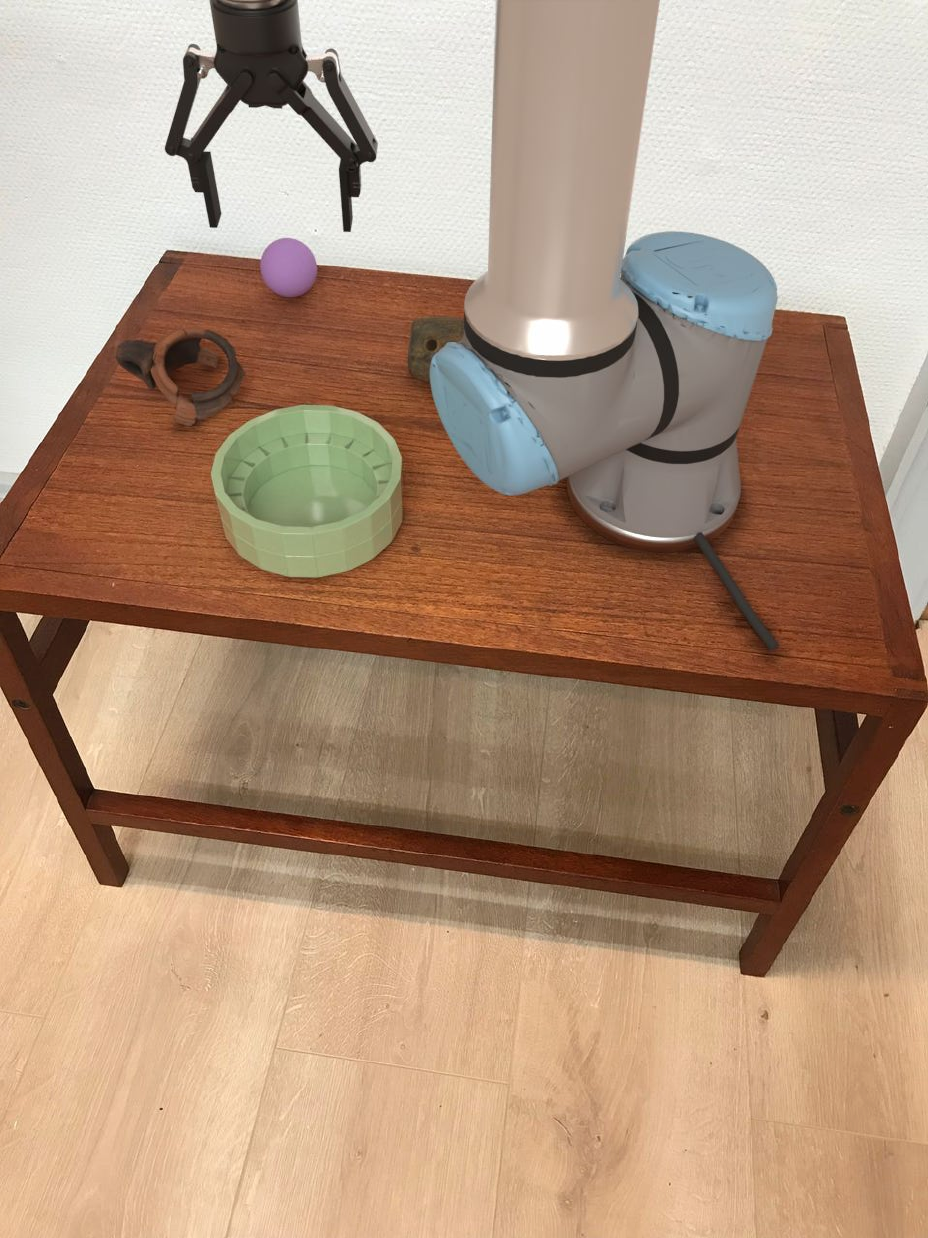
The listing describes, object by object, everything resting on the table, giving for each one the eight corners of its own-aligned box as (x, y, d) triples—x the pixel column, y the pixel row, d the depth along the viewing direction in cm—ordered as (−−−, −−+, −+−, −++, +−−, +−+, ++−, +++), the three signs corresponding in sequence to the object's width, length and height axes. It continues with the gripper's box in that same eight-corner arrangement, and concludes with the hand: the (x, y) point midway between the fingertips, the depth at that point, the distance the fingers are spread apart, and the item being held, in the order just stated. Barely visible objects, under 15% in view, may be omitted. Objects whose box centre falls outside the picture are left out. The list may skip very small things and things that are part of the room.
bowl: (398, 586, 81) (396, 535, 76) (209, 581, 81) (195, 531, 76) (407, 458, 91) (405, 406, 86) (238, 454, 90) (228, 402, 86)
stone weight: (406, 402, 96) (404, 344, 90) (412, 358, 100) (411, 300, 95) (559, 410, 95) (567, 352, 90) (559, 365, 100) (565, 308, 94)
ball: (316, 309, 105) (311, 258, 100) (260, 307, 105) (252, 256, 100) (322, 277, 109) (317, 227, 104) (268, 276, 109) (260, 225, 104)
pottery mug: (248, 363, 100) (252, 326, 92) (234, 450, 98) (237, 419, 90) (125, 338, 97) (119, 296, 89) (108, 426, 95) (100, 392, 87)
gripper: (400, -21, 86) (404, 207, 103) (116, -31, 86) (167, 199, 103) (395, 14, 82) (401, 246, 99) (96, 3, 81) (152, 238, 98)
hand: (282, 222), depth 101 cm, fingers open, 13 cm apart
